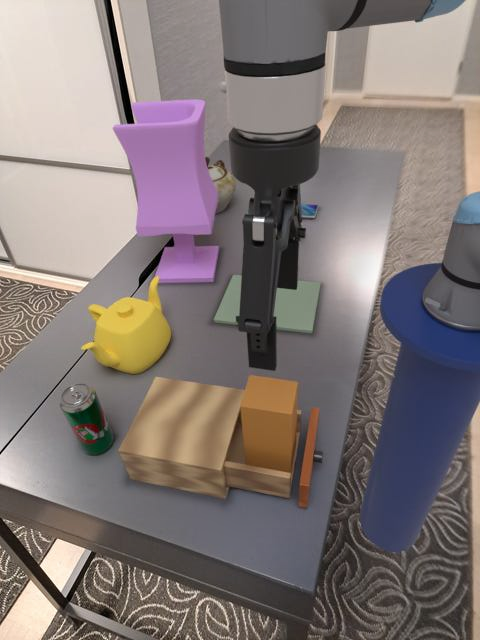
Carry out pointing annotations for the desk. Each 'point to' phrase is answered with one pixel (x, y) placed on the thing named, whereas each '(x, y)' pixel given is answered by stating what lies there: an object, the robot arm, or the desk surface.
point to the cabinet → (183, 436)
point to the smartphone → (309, 210)
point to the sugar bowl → (222, 183)
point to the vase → (173, 184)
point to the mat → (276, 306)
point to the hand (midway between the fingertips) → (275, 323)
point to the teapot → (130, 332)
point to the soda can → (86, 418)
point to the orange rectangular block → (269, 422)
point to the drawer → (267, 478)
